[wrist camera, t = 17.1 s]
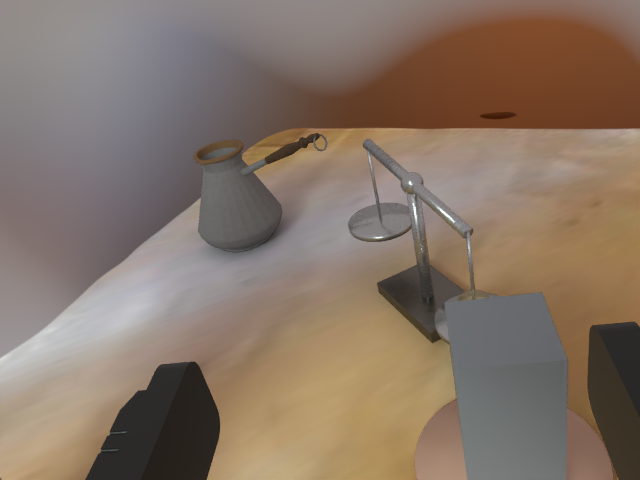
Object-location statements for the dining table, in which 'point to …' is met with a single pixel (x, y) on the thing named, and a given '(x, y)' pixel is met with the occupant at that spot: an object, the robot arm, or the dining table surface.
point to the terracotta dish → (448, 458)
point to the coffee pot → (238, 195)
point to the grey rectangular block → (509, 387)
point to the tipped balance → (421, 280)
